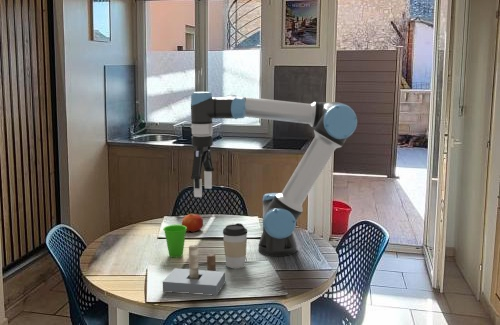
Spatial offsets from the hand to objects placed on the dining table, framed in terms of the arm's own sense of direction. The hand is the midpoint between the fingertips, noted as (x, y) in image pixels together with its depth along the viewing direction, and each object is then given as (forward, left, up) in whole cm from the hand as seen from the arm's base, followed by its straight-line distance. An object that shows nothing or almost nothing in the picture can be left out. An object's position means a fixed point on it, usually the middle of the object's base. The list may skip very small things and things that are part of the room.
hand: (203, 192), depth 200 cm
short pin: (-5, +9, -27) cm, 29 cm away
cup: (+13, -5, -27) cm, 30 cm away
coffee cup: (-12, +1, -27) cm, 29 cm away
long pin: (-3, +23, -27) cm, 35 cm away
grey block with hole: (-3, +23, -27) cm, 35 cm away
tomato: (+16, -37, -27) cm, 49 cm away
